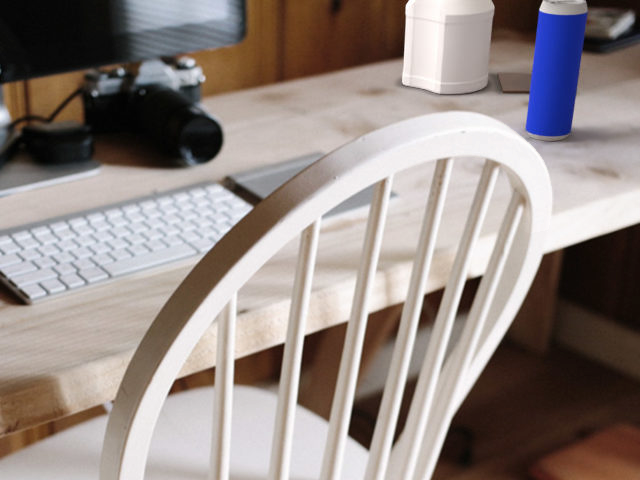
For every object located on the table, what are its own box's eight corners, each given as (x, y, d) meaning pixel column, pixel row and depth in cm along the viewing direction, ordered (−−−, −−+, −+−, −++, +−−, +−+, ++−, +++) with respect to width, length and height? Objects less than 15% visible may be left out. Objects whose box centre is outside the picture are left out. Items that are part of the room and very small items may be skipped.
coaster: (563, 75, 142) (563, 73, 142) (572, 93, 135) (573, 91, 135) (497, 75, 143) (497, 73, 143) (503, 92, 136) (503, 90, 135)
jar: (389, 82, 141) (394, -34, 134) (434, 69, 147) (442, -43, 139) (454, 98, 134) (464, -24, 126) (500, 84, 139) (512, -34, 131)
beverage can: (564, 128, 122) (582, -5, 114) (575, 141, 118) (594, 5, 110) (520, 128, 122) (535, -4, 115) (529, 142, 118) (546, 5, 110)
